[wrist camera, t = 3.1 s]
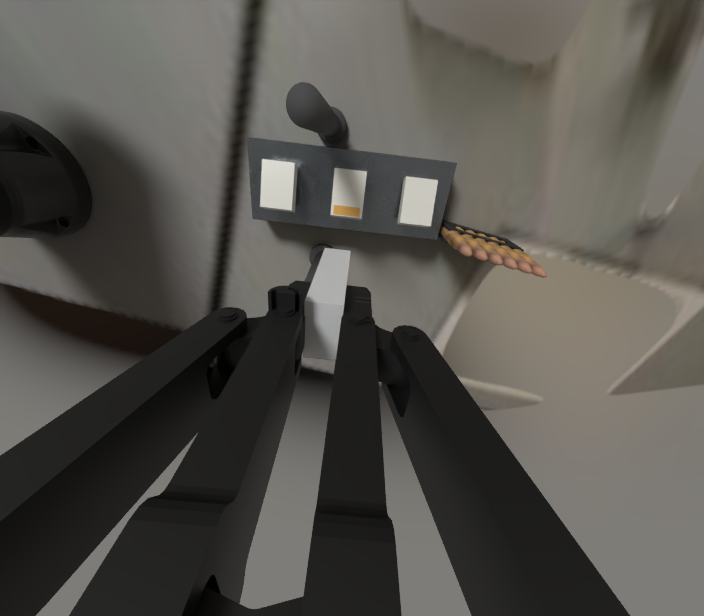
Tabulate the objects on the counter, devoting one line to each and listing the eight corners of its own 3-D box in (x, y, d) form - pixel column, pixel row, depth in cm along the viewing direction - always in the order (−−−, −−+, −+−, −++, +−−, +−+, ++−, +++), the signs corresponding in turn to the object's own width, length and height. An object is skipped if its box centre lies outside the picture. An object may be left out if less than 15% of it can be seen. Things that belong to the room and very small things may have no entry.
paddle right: (397, 224, 34) (399, 222, 32) (403, 180, 33) (406, 176, 31) (426, 227, 34) (430, 226, 33) (433, 183, 33) (438, 180, 32)
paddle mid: (331, 216, 34) (330, 214, 32) (335, 172, 33) (334, 167, 31) (361, 219, 34) (361, 218, 32) (366, 175, 33) (366, 171, 31)
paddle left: (264, 208, 34) (260, 206, 32) (266, 163, 33) (262, 158, 31) (294, 212, 34) (291, 210, 32) (297, 167, 33) (294, 162, 31)
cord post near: (316, 140, 35) (277, 135, 19) (317, 105, 34) (275, 66, 17) (344, 144, 35) (330, 141, 19) (347, 109, 34) (334, 73, 17)
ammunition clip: (508, 239, 41) (558, 271, 30) (501, 251, 42) (548, 286, 31) (438, 218, 40) (466, 244, 29) (433, 231, 40) (458, 261, 30)
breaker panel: (262, 212, 40) (252, 218, 36) (258, 138, 35) (247, 137, 32) (430, 232, 40) (436, 239, 37) (447, 161, 36) (456, 163, 33)
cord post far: (310, 267, 44) (279, 339, 27) (310, 242, 42) (278, 303, 25) (335, 270, 44) (320, 344, 27) (337, 245, 42) (323, 308, 26)
